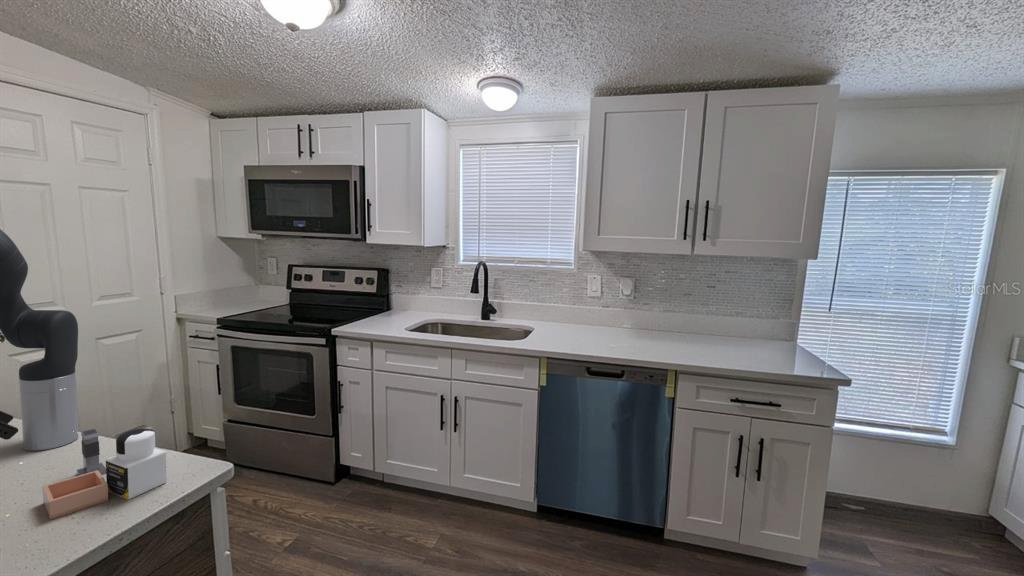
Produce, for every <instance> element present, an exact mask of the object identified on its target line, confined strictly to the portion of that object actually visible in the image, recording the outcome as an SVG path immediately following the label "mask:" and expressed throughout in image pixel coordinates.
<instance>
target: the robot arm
mask: <svg viewBox="0 0 1024 576" xmlns="http://www.w3.org/2000/svg"><path fill="white" fill-rule="evenodd" d="M28 273H29V265H28V263H27V261H26V258H25V257H24V256H23V254H22V252H21V251H20V249H19V248H18V246H17V245H16V244H15V242H14V241H13V239H11V238H10V236H9V235H8V234H7V233H5V232H4V231H3V230H2V229H1V228H0V332H1V334H2V335H3V337H4V338H5V340H6V341H7V342H8V343H9V344H11V345H12V346H13V347H16V348H19V349H20V348H21V349H44V356H43V357H42V358H41V359H39V360H35V361H32V362H29V363H26V364H25V363H24V364H23V365H21V366H20V368H19V369H18V379H19V392H20V393H19V395H20V410H21V425H22V426H21V428H22V444H23V449H24V450H25V451H29V452H30V451H34V452H35V451H44V450H51V449H54V448H55V449H56V448H59V447H62V446H65V445H68V444H70V443H73V442H75V441H76V440H77V439H79V417H78V398H77V397H78V395H77V394H78V393H77V382H76V381H77V379H76V365H77V360H78V356H79V355H78V352H79V351H78V349H79V348H78V346H79V345H78V344H79V343H78V342H79V323H78V320H77V318H76V315H74V314H73V313H72V312H71V311H68V310H63V309H62V310H58V309H57V310H56V309H53V310H51V309H50V310H49V309H38V310H37V309H33V308H31V307H30V306H29V305H28V304H27V303H26V301H25V299H24V298H23V295H22V293H21V292H22V290H23V286H24V284H25V281H26V279H27V276H28ZM13 420H14V416H13V415H11V414H9V413H7V412H4V411H3V410H0V439H3V440H5V441H7V440H10V439H12V438H13V437H14V435H16V434H17V433H18V432H19V429H18V427H16V426H14V425H10V422H12V421H13ZM73 431H74V432H73ZM77 432H78V433H77Z"/></svg>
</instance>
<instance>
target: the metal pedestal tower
mask: <svg viewBox="0 0 1024 576" xmlns="http://www.w3.org/2000/svg"><path fill="white" fill-rule="evenodd" d="M80 434H81V439H82V440H81V454H82V463H83V467H82V468H79V469H76V476H79V475H83V474H86V473H89V472H93V471H96V470H99V472H100V473H101V475H102V476H103V475H105V474H106V465H104V463H103V462H100V454H101V453H100V441H99V436H100V435H99V434H100V433H99V431H98V430H97V429H96V428H91V429H88V430H84V431H83V430H82V431H81V432H80Z"/></svg>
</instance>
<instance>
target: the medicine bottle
mask: <svg viewBox="0 0 1024 576" xmlns="http://www.w3.org/2000/svg"><path fill="white" fill-rule="evenodd" d="M115 447H116V451H115V454H116V455H113V456H110V457H107V458H106V459H105V468H106V473H105V474H106V479H105V480H106V482H107V484H108V493H111V494H113V495H116V496H117V497H121V498H123V499H125V500H127V501H129V500H131V499H133V498H135V497H137V496H140V495H142V494H144V493H146V492H149V491H151V490H154V489H155V488H157V487H159V486H160V487H161V486H162V485H164V484H165V483H167V480H168V477H167V474H168V473H167V451H164V450H162V449H159V448H156V433H155V431H154V430H153V429H151V428H137V429H131V430H127V431H125V432H123V433H121V434H120V435H119V436H117V437H116V438H115Z"/></svg>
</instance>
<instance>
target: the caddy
mask: <svg viewBox="0 0 1024 576" xmlns="http://www.w3.org/2000/svg"><path fill="white" fill-rule="evenodd" d="M42 499H43V506H44V508H45V510H46V513H47V515H48V517H49V520H51V521H52V520H55V519H57V518H60V517H63V516H66V515H68V514H72V513H75V512H78V511H81V510H84V509H87V508H90V507H92V506H95V505H98V504H101V503H102V504H103V503H105V502H108V501H109V492H108V484H107V480H106V479H105V478H104V477H103V474H102V475H101V473H100V472H99V470H96V471H93V472H89V473H86V474H83V475H79V476H78V475H76V476H73V477H69V478H65V479H62V480H59V481H58V480H57V481H55V482H52V483H48V484H46V485H42Z"/></svg>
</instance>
